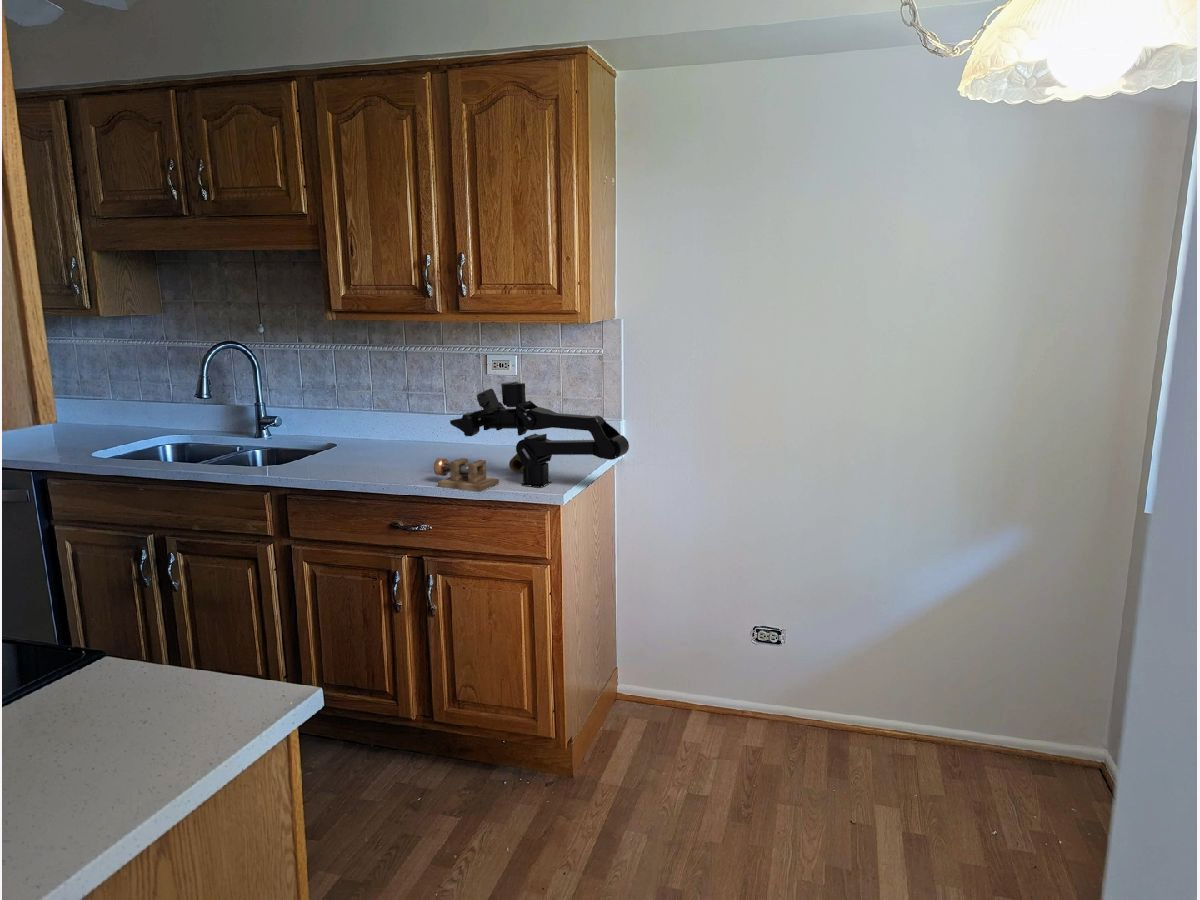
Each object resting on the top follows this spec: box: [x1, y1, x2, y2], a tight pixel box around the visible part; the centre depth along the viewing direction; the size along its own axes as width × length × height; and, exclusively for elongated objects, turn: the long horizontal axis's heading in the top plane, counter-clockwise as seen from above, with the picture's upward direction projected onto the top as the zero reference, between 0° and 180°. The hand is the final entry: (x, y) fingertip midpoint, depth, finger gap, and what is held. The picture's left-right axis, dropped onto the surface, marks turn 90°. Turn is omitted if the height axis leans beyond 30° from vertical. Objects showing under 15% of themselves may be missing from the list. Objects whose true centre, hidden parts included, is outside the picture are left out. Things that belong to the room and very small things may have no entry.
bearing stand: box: [437, 457, 500, 493], centre depth 242 cm, size 14×10×7 cm
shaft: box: [433, 457, 478, 477], centre depth 244 cm, size 12×5×5 cm, turn 65°
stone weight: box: [508, 453, 524, 473], centre depth 263 cm, size 15×7×7 cm, turn 164°
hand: (459, 418), depth 251 cm, fingers open, 9 cm apart
